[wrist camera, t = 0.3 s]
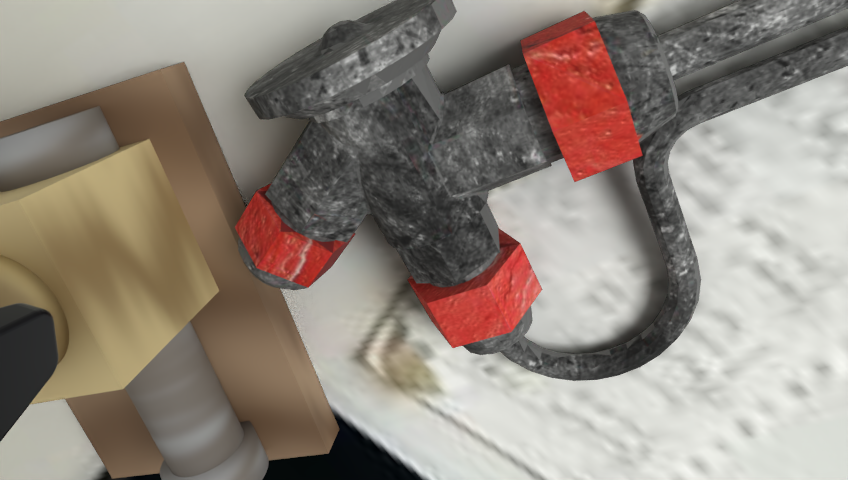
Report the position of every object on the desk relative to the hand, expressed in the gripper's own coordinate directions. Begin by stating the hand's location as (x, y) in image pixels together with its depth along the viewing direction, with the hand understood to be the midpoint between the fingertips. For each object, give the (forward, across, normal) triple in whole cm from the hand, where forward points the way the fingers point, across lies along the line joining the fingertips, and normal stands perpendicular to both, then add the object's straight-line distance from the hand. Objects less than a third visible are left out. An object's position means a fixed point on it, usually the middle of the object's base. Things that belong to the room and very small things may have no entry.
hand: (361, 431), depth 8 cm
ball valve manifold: (+14, +12, +10) cm, 21 cm away
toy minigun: (+16, -4, 0) cm, 16 cm away
